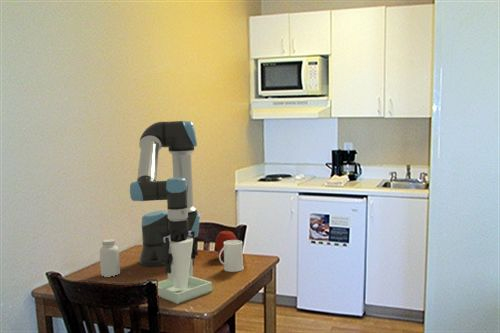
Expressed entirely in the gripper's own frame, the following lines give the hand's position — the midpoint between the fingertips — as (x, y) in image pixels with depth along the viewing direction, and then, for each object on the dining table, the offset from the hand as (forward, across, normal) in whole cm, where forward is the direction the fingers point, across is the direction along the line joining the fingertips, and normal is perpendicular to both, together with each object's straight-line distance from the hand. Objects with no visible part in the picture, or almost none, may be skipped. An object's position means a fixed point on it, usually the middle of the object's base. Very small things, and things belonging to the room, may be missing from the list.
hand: (180, 277), depth 192 cm
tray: (+6, 0, 0) cm, 6 cm away
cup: (+4, 0, 0) cm, 4 cm away
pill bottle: (+6, -5, +42) cm, 43 cm away
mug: (+6, +32, +6) cm, 33 cm away
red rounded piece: (+6, +44, +21) cm, 49 cm away
